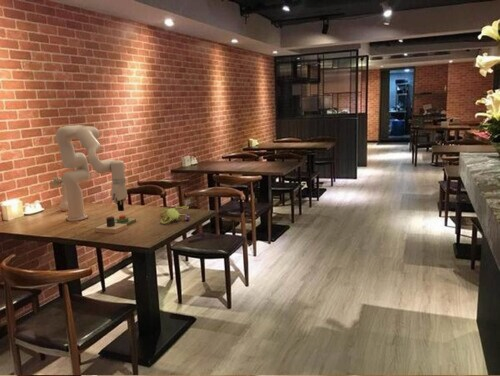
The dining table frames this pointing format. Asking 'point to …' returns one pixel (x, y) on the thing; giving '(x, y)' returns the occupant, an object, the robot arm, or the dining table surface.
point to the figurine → (174, 214)
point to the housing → (125, 221)
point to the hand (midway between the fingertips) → (120, 210)
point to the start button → (122, 217)
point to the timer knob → (110, 221)
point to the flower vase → (64, 202)
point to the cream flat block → (111, 228)
